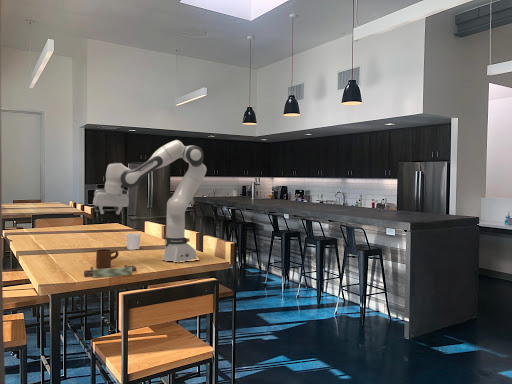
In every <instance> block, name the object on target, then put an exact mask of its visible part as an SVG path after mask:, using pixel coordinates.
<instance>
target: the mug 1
mask: <svg viewBox="0 0 512 384" xmlns="http://www.w3.org/2000/svg"><path fill="white" fill-rule="evenodd" d="M113 254H114V255H113ZM95 255H96V257H95V258H96V259H95V260H96V261H95V262H96V263H95V267H96V269H108V268H112V267H111V266H112V261H113V260H115V259H117V258H118V257H119V251H118V250H116V249H113V250H111V249H107V248H105V249H97V250H96V254H95ZM112 255H113V256H112Z"/></svg>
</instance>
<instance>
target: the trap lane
mask: <svg viewBox="0 0 512 384" xmlns="http://www.w3.org/2000/svg"><path fill="white" fill-rule="evenodd" d="M89 268H90V269H89V270H84V271H83V276H84V278H90V277H91V278H93V279H95V278H98V279H99V278H110V277H111V278H112V277H114V278H115V277H123V276H122V275H130V276H133V272H132V271H136V272H137V267H136V266H135V265H127V264H124V266H123V267H110V268H106V269H99V268H96V269H95V268H94V266H90V267H89Z"/></svg>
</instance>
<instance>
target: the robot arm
mask: <svg viewBox="0 0 512 384" xmlns="http://www.w3.org/2000/svg"><path fill="white" fill-rule="evenodd" d="M178 159H182V160H183V161H184V162H185V163H187V164H188V170H186V172H185V174H184V175H183V178H182V179H181V180H180V182H179V184H178V185H177V187H176V190H174V193H173V194H172V196H171V197H170V198H169V199H168V200H167V203H166V231H165V233H166V235H165V239H164V253H163V257H162V261H163V260H166V261H165V262H167V261H176V262H180V261H188V260H191V259H197V258H196V256H197V252H196V248H194V247H192V245H190V244H189V242H190V240H191V239H190V238H186V237H185V232H186V231H185V229H186V227H185V226H186V221H185V218H186V217H185V216H186V215H185V214H186V213H185V212H186V210H187V209H188V206H190V203H191V201H192V199H193V197H194V195H195V194H196V192H197V190H198V189H199V187H200V185H201V184H202V182H203V180H204V178H205V176H206V173H207V171H208V170H207V166H206V165H205V164H204V152H203V149H202V148H201V147H200V146H197V145H184V144H183V142H182V141H180V140H178V139H175V140H172V141H170V142H168V143H166V144H164V145H162V146H160V147H159V148H158V149H156V150H155V151H154V152H153V154H152V155H151V156H150V158H149V159H148V160H147V161H145V162H144V163H142V164H140V165H139V166H138V167H136V168H132V169H131V168H129V167H127V166H125V164H123V163H122V162H111V163H109V164H108V165H107V167H106V172H105V183H104V189H96V190H94V192H93V200H92V205H93V206H97V207H98V209H99V210H100V213H99V214H101V215H104V214H105V211H104V210H103V207H115V208H116V207H117V208H118V209H117V210H115V215H120V213H121V211H122V210H123V208H125V207H126V208H127V207H128V206H129V204H130V203H129V202H130V198H129V191H128V190H127V189H123V188H122V186H124V187H125V188H128V189H132V188H134V187H137V186H138V184H139V183H140V181H141V180H142V179H143V178H145V177H146V176H147V175H149V174H150V173H151V172H153V171H155V170H157V169H160V168H164V167H166V166H169V165H170V164H171V163H173V162H175V161H176V160H178Z"/></svg>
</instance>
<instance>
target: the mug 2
mask: <svg viewBox="0 0 512 384" xmlns="http://www.w3.org/2000/svg"><path fill="white" fill-rule="evenodd" d="M141 235H142V234H141V233H134V232H133V233H127V234H125V235H124V242H125V245H126V247H127V250H128V251H136V250H135V249H139V250H140V243H141Z"/></svg>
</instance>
